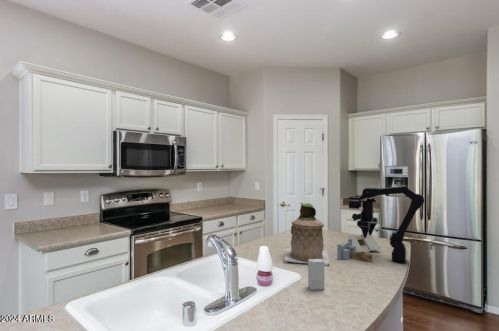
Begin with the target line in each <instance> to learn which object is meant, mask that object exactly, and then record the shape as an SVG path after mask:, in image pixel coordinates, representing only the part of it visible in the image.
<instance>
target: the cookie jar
mask: <svg viewBox="0 0 499 331" xmlns="http://www.w3.org/2000/svg"><path fill="white" fill-rule="evenodd" d="M300 204H301V205H300V209H299V216H298V217H296V219H293V220H292V221H291V227H290V234H291V239H290V247H287V249H286V251H285V253H284V254H285V255H284V257H283V260H284V262H285V263H286V264H287V263H297V264H307V265H308V259H322V260H323V261H324V267H328V265H329V264H330V263H331V262H330V259H329V258H330V257H329V254H328V251H327V250H324V244H325V243H324V236H323V227H324V226H325V225H324V222H322V221H321V220H320V219H318V218H316V216H317V215H316V214H317V210H316V207H314V205H313V204H311V203H309V202H307V203H303V202H300Z"/></svg>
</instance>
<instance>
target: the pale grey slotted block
mask: <svg viewBox="0 0 499 331" xmlns="http://www.w3.org/2000/svg"><path fill="white" fill-rule="evenodd" d="M372 234H373V233H372ZM372 234H371V235H369V232H368V234H367V237H366V238H364V236H363V233H361V235H355V234H352V235H347V240H348V239H349V238H351V239H352V246H356V251H357V252H362V253H370V252H371V251H377V250H378V251H379V250H381V248H380V246H379V244H378V242H377V240H376V239H375V238H374V236H373V235H372Z"/></svg>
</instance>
